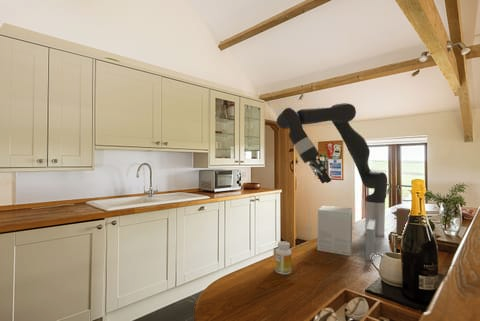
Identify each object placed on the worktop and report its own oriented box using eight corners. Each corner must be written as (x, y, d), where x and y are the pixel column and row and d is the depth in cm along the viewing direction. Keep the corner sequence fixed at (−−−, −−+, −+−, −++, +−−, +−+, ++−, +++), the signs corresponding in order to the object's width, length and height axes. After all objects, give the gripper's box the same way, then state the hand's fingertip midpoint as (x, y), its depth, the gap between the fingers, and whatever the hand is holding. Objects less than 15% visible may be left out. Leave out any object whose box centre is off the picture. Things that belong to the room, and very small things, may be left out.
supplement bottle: (292, 269, 88) (292, 241, 88) (290, 276, 83) (290, 246, 83) (276, 267, 90) (277, 239, 90) (273, 273, 85) (274, 244, 85)
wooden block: (423, 253, 108) (424, 210, 108) (419, 255, 105) (420, 211, 105) (399, 247, 114) (400, 207, 114) (395, 249, 112) (396, 208, 112)
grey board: (369, 244, 118) (369, 218, 118) (375, 245, 117) (375, 219, 117) (365, 259, 99) (366, 228, 99) (372, 260, 98) (373, 229, 98)
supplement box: (352, 246, 114) (353, 207, 114) (350, 256, 102) (351, 212, 102) (321, 242, 120) (322, 205, 120) (316, 250, 108) (317, 209, 108)
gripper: (317, 142, 104) (339, 177, 101) (311, 148, 118) (330, 178, 115) (301, 152, 104) (322, 186, 102) (297, 156, 118) (316, 186, 116)
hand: (326, 182), depth 109 cm, fingers open, 8 cm apart
